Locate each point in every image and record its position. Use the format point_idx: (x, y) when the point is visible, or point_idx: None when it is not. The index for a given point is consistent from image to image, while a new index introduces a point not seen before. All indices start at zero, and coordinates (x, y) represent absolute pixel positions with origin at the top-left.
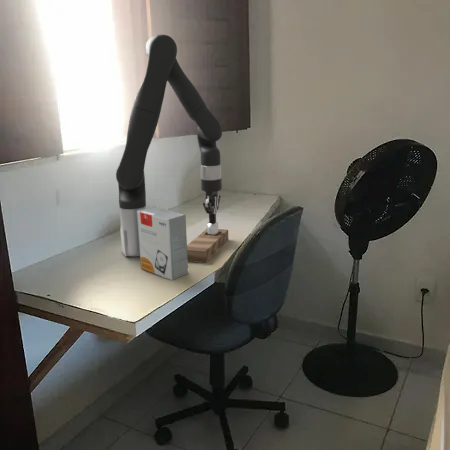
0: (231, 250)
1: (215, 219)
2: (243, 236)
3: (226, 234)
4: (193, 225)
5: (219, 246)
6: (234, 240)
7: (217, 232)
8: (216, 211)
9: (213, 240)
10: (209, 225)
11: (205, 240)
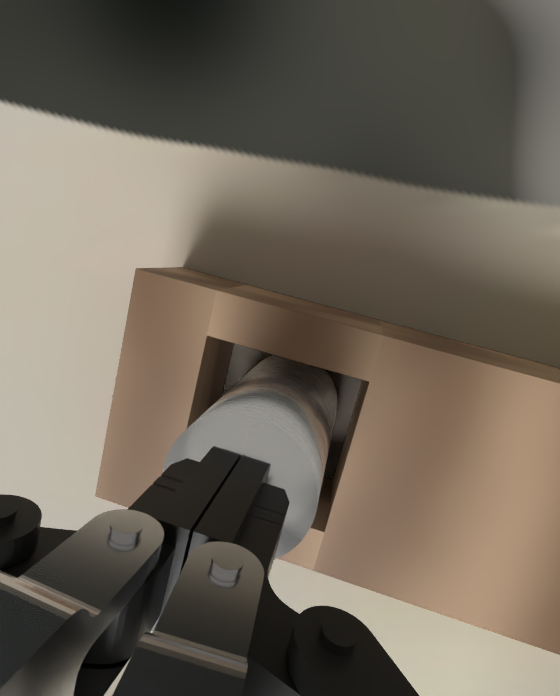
0: (497, 214)
1: (226, 474)
2: (79, 126)
3: (212, 284)
4: None
5: (446, 340)
6: (197, 207)
7: (292, 388)
8: (137, 526)
9: (545, 421)
10: (308, 526)
11: (537, 511)
